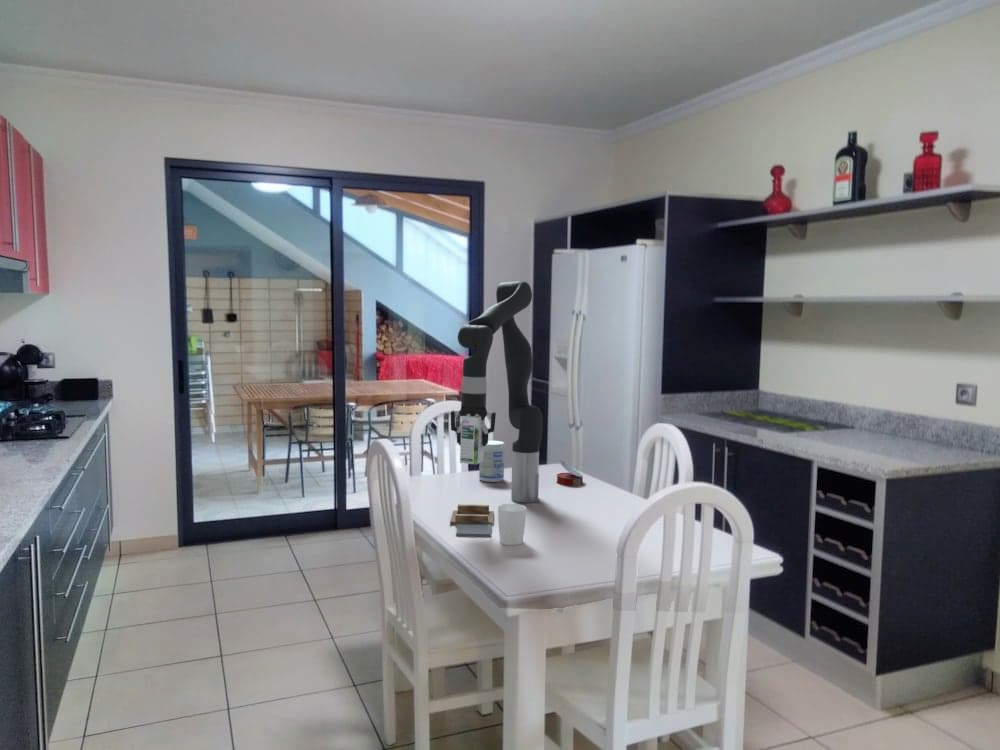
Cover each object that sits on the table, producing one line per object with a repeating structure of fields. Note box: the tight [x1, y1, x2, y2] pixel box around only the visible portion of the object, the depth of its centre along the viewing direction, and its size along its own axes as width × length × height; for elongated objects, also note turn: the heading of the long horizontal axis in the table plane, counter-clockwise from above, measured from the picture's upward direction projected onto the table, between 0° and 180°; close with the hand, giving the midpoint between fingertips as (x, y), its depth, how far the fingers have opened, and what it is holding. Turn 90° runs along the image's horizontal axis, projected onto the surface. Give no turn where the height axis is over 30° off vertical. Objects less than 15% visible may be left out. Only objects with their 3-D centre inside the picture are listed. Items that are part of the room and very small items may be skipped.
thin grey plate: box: [455, 523, 492, 538], centre depth 215 cm, size 10×10×1 cm
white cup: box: [497, 503, 527, 546], centre depth 206 cm, size 8×8×10 cm
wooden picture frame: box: [449, 503, 495, 527], centre depth 227 cm, size 13×12×3 cm
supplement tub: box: [478, 440, 505, 483], centre depth 280 cm, size 10×10×15 cm
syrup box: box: [459, 416, 486, 465], centre depth 221 cm, size 6×6×14 cm
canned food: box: [556, 460, 584, 487], centre depth 278 cm, size 11×10×10 cm
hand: (472, 445), depth 221 cm, fingers closed on syrup box, 7 cm apart
